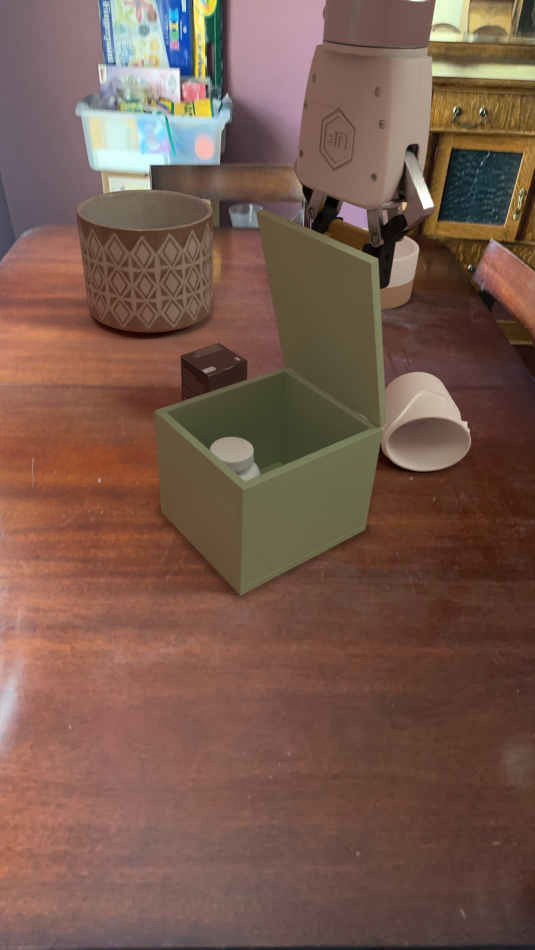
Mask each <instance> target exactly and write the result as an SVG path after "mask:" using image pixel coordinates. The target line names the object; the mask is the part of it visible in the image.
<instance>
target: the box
mask: <svg viewBox="0 0 535 950" xmlns="http://www.w3.org/2000/svg"><path fill="white" fill-rule="evenodd" d="M179 358H180V378H181V401H184V400H187V399H190V398H193V397H196V396H199V395H202V394H205V393H208V392H211V391H214V390H217V389H220V388H224V387H227V386H230V385H233V384H236V383H239V382H242V381H245V380H248V360H247V359H246V358H244V357H243V356H241V355H239V354H237V353H236V352H234V351H233V350H231V349H230V348H228V347H226V346H225V345H223V344H221V343H220V342H217V343H214V344H212V345H208V346H205V347H202V348H199V349H197V350H193V351H190V352H187V353H183V354H181V355H180V357H179Z"/></svg>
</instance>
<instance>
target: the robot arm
mask: <svg viewBox="0 0 535 950" xmlns="http://www.w3.org/2000/svg"><path fill="white" fill-rule="evenodd" d="M436 1H437V0H325V5H324V7H323V9H322V19H323V29H322V30H323V31H322V43H321V44H317V45H316V46H315V49H314V52H313V57H312V59H311V63H310V68H309V72H308V77H307V83H306V87H305V93H304V98H303V104H302V113H301V119H300V127H299V136H298V145H297V146H298V147H297V158H296V159H295V160H294V162H293V166H292V167H293V171H294V173H295V175H296V178H297V180H298V183H299V184H300V186H301V191H302V195H303V197H304V199H305V201H306V204H307V209H306V216H307V218H308V219H309V220H310V221H311V225H310V226H311V227H310V229H311V230H314V231H316V232H318V233H320V234H323V233H325V232H327V229H328V226H329V224H330V223H331V222H332V221H333V220H335V219H339V220H342V221H344V217H342V216H339V214H340V212H341V210H342V206H343V204H344V203H346V204H349V205H351V206H355V207H357V208H359V209H363V210H366V220H367V228H368V230H369V240H370V243H367V244H364V245H363V248H362V252H364V253H366V254H369V255H371V256H373V257H375V258H378V264H379V283H380V289H383V288H386V287H387V286H388V285H389V283H390V277H391V270H392V264H393V258H394V251H395V245H396V242H400V241H402V240H403V239H404V236H407V235H408V234H409V233H410V232H411V231H413V230H414V229H415V228H416V227H417V225H419V224H421V223H422V222H424V221H425V220H427V219H428V218H429V217H431V216H432V215H433V214H434V213H435V210H436V206H435V203H434V200H433V197H432V195H431V192H430V190H429V188H428V186H427V185H428V184H427V182H426V180H425V177H424V171H425V165H426V159H427V153H428V152H427V151H428V145H429V144H428V143H429V135H430V127H431V126H430V125H431V115H432V114H431V113H432V97H433V56H431V55H428V54H429V45H430V39H431V33H432V26H433V21H434V14H435V7H436ZM403 203H406V206H405V208H404V207H403ZM403 208H404V209H403ZM383 211H386V212H387V213H386V215H387V221H386V223H385V224H384V222H385V221H384V212H383Z"/></svg>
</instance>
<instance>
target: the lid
mask: <svg viewBox="0 0 535 950" xmlns="http://www.w3.org/2000/svg"><path fill="white" fill-rule="evenodd" d="M255 214H256V220H257V226H258V231H259V236H260V242H261V246H262V253H263V259H264V264H265V268H266V274H267V279H268V285H269V290H270V296H271V301H272V307H273V312H274V317H275V322H276V328H277V333H278V339H279V345H280V350H281V355H282V361H283V365H285V367H288V368H289V369H291V370H292V371H294V372H296V373H297V374H299V375H300V376H302V377H303V378H305V379H306V380H308V381H309V382H311V383H312V384H314V385H315V386H317V387H318V388H320V389H322V390H323V391H325V392H326V393H328V394H329V395H331V396H332V397H334V398H335V399H337V400H338V401H340V402H341V403H343V404H344V405H346V406H348V407H349V408H351V409H352V410H354V411H355V412H357V413H360V414H361V415H363V416H364V417H366V418H367V419H368V420H369V421H370V422H372V423H374V424H375V425H376V426H378V427H382V426H383V425H384V424H386V423H387V418H386V399H385V389H386V382H385V381H386V379H385V363H384V342H383V325H382V324H383V323H382V310H381V302H380V283H379V264H378V258H375V257H373V256H371V255H369V254H366V253H364V252H362V248H363V245H364V244H367V243H370V240H369V231H367V230H364V229H362V228H359V227H360V226H357V225H354V224H351V223H349V222H346V221H344V220H343V221H342V220H339V219H335V220H333V221H332V222H331V223H330V224H329V226H328V229H327V232H325V233H323V234H320V233H318V232H316V231H314V230H311V228H309V227H307V226H305V225H302V224H300V223H297V222H295V221H293V220H291V219H288V218H286V217H284V216H283V215H279V214H277V213H275V212H272V211H270V210H267V209H266V208H261V209H258V210H257V211H256V212H255Z"/></svg>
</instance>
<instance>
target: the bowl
mask: <svg viewBox="0 0 535 950" xmlns="http://www.w3.org/2000/svg"><path fill="white" fill-rule="evenodd" d="M358 227H359V228H362V229H364V230H367V231H369V230H368V227H365V226H364V227H363V226H358ZM419 254H420V246H419V244H418V243H417V242H416V241H415V240H414V239H412V238H411V237H409V236H407V235H405V236H404V239H403V240H402V241H400V242H396V245H395V251H394V258H393V264H392V270H391V277H390V283H389V285H388V286H387V287H386V288H383V289H380V302H381V311H383V310H390V309H395V308H398V307H401V306H403V305H404V304H407V302H409V300H410V299H411V296H412V292H413V286H414V280H415V276H416V270H417V265H418V259H419Z"/></svg>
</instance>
